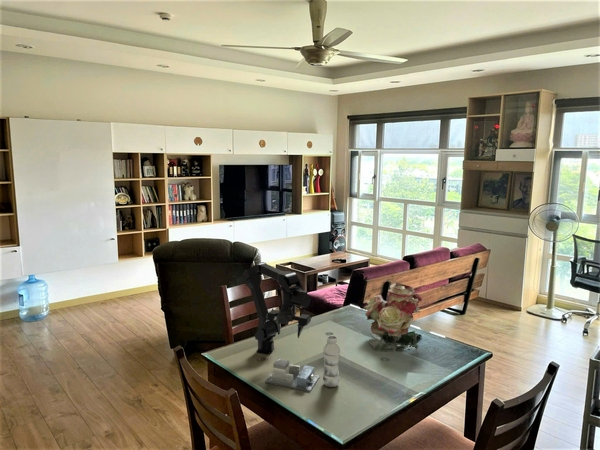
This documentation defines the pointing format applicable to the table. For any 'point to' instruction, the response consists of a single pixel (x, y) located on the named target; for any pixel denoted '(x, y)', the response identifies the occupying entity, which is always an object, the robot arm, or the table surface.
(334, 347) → the plastic bottle
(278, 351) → the table surface
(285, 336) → the table surface
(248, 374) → the table surface
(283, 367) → the grey rectangular block
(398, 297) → the rose bouquet
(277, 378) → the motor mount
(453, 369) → the table surface
